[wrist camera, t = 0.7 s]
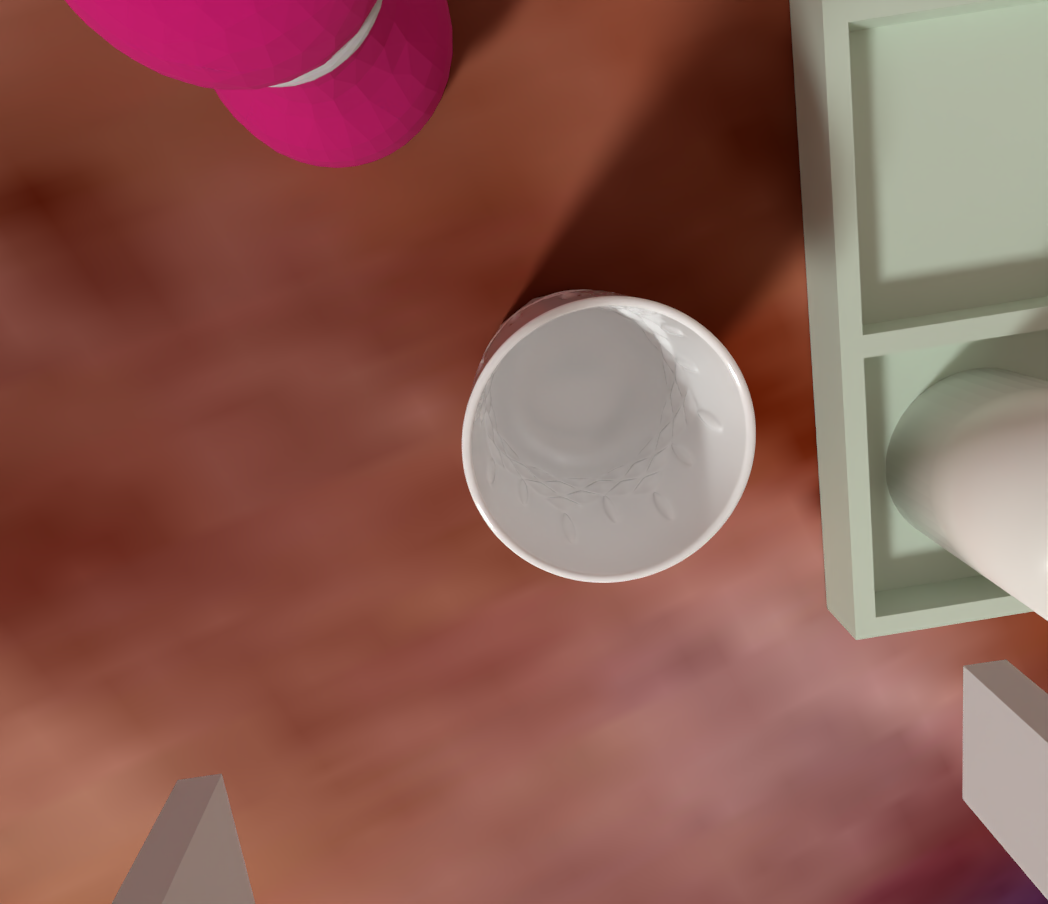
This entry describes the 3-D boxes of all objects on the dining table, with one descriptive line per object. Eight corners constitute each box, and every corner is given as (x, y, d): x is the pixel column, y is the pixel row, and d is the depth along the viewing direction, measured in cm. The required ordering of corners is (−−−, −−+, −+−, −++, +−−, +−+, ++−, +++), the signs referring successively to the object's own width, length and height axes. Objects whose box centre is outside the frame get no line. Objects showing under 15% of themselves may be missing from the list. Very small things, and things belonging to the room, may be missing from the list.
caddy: (767, -357, 27) (799, -422, 24) (1131, -411, 27) (1203, -481, 24) (826, 608, 36) (855, 639, 33) (1102, 563, 36) (1153, 591, 33)
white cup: (653, 252, 32) (731, 264, 22) (690, 454, 34) (776, 547, 24) (443, 301, 32) (428, 336, 22) (493, 500, 34) (500, 611, 24)
